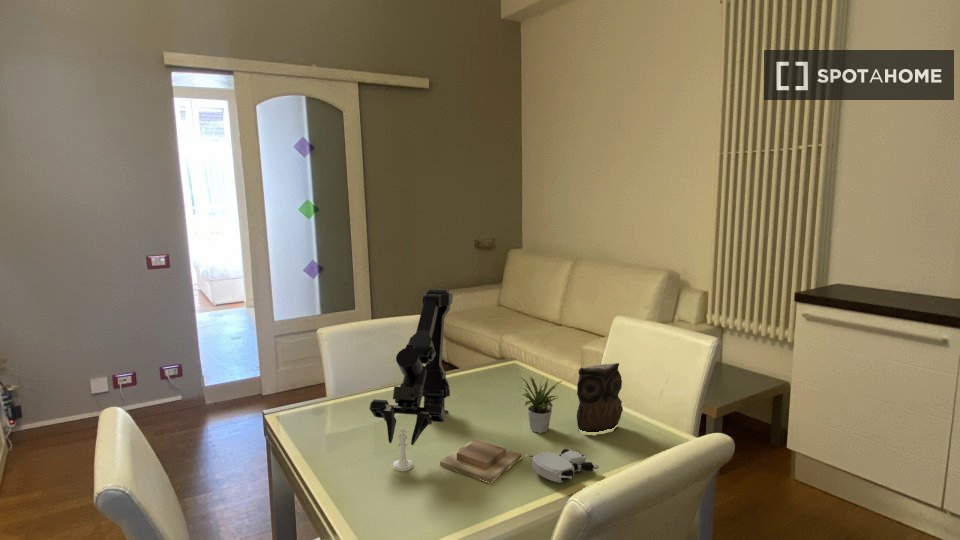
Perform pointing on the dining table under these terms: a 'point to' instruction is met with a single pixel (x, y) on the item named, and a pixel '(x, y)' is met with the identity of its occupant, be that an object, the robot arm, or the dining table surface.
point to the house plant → (539, 406)
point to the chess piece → (402, 454)
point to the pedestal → (481, 460)
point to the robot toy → (560, 465)
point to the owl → (599, 397)
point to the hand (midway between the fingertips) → (400, 443)
